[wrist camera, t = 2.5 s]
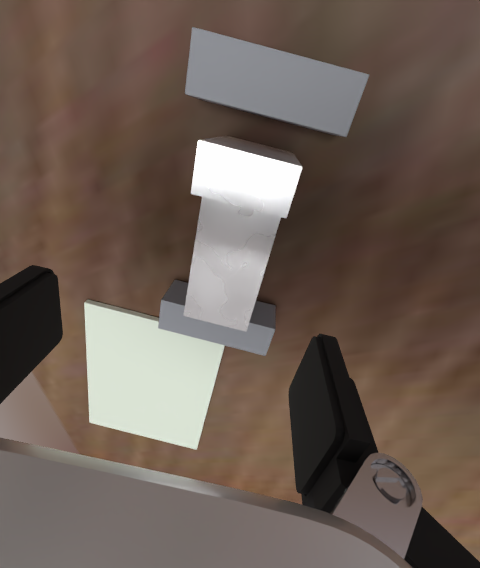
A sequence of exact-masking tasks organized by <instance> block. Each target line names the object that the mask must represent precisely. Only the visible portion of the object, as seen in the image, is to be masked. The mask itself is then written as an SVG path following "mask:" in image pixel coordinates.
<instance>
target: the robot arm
mask: <svg viewBox="0 0 480 568" xmlns="http://www.w3.org/2000/svg"><path fill="white" fill-rule="evenodd" d="M62 335H63V330H62V320H61V309H60V298H59V287H58V278H57V276H56V275H55V274H54V272H53V271H52V270H51V269H48V268H44V267H40V266H35V265H32V266H29V267H28V268H26V269H24V270H23V271H21V272H19V273H17V274H16V275H14V276H12V277H11V278H9V279H7V280H6V281H4V282H2V283H0V404H1V403H2V402H3V400H4V399H5V398H6V397H7V396H8V395H9V394H10V393H11V392H12V391H13V390H14V389H15V388H16V387H17V386H18V385H19V384H20V383H21V382H22V381H23V380H24V378H25V377H27V376H28V374H29V373H30V372H31V371H32V370H33V369H34V368H35V367H36V366H37V365H38V364H39V363H40V362H41V361H42V360H43V359H44V358H45V357H46V356H47V355H48V354H49V353H50V352H51V351H52V350H53V348H54V347H55V346H56V345H57V344H58V343H59V342H60V340H61V338H62ZM289 407H290V419H291V431H292V444H293V456H294V469H295V481H296V490H297V492H298V493H301V494H302V504H303V505H301V504H298V503H294V502H290V501H285V500H281V499H277V498H273V497H269V496H265V495H261V494H256V493H252V492H248V491H244V490H240V489H235V488H231V487H226V486H222V485H217V484H212V483H208V482H203V481H199V480H194V479H190V478H185V477H181V476H176V475H172V474H167V473H163V472H158V471H154V470H149V469H144V468H140V467H135V466H131V465H126V464H121V463H117V462H112V461H107V460H103V459H98V458H94V457H89V456H84V455H80V454H75V453H70V452H65V451H61V450H56V449H51V448H47V447H42V446H37V445H33V444H28V443H23V442H18V441H13V440H9V439H4V438H0V568H480V562H479V561H478V560H477V559H476V558H475V557H474V556H473V555H472V554H471V553H470V552H469V551H467V550H466V549H465V548H464V547H463V546H462V545H461V544H460V543H459V542H458V541H457V540H456V539H455V538H454V537H453V536H452V535H451V534H450V533H449V532H448V531H447V530H446V529H445V528H444V527H442V526H441V525H440V524H439V523H438V522H437V521H436V520H435V519H434V518H433V517H432V516H431V515H430V514H429V513H428V512H427V511H426V510H425V509H424V508H423V507H422V500H423V499H422V494H421V490H420V488H419V486H418V484H417V481H416V480H415V478H414V477H413V476H412V474H411V473H410V471H409V470H408V469H407V468H406V467H405V466H404V465H403V464H402V463H400V462H399V461H397V460H396V459H395V458H393V457H391V456H389V455H386V454H383V453H378V450H377V447H376V444H375V441H374V438H373V435H372V432H371V429H370V426H369V424H368V421H367V418H366V415H365V412H364V409H363V406H362V403H361V400H360V397H359V394H358V391H357V389H356V386H355V383H354V381H353V380H352V379H351V378H349V375H348V372H347V369H346V366H345V363H344V360H343V357H342V354H341V350H340V347H339V344H338V341H337V339H336V338H335V337H332V336H328V335H324V334H319V335H318V336H317V337H315V336H314V337H313V338H312V339H311V341H310V344H309V346H308V348H307V350H306V352H305V355H304V357H303V359H302V361H301V363H300V365H299V368H298V370H297V372H296V374H295V376H294V379H293V381H292V383H291V385H290V388H289Z"/></svg>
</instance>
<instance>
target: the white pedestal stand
mask: <svg viewBox="0 0 480 568" xmlns="http://www.w3.org/2000/svg"><path fill="white" fill-rule="evenodd" d="M301 171H302V165H301V164H300V162H299V161H298V159H297V158H296V156H295V155H294V154H293V152H289V151H285V150H281V149H277V148H273V147H270V146H266V145H262V144H258V143H254V142H250V141H247V140H243V139H239V138H235V137H231V136H222V137H215V138H208V139H201V140H198V145H197V152H196V159H195V167H194V174H193V181H192V188H191V194H193V195H197V196H201V197H202V201H201V207H200V214H199V220H198V226H197V233H196V239H195V245H194V251H193V258H192V264H191V270H190V277H189V283H188V289H187V296H186V302H185V308H184V314H183V316H186V317H190V318H194V319H198V320H202V321H206V322H210V323H214V324H218V325H222V326H225V327H229V328H233V329H237V330H241V331H245V332H247V328H248V325H249V322H250V318H251V315H252V312H253V308H254V305H255V302H256V298H257V295H258V292H259V289H260V285H261V282H262V279H263V275H264V272H265V269H266V265H267V262H268V259H269V255H270V252H271V249H272V246H273V242H274V239H275V236H276V232H277V229H278V226H279V222H280V219H281V217H283V218H287V215H288V212H289V209H290V206H291V203H292V199H293V196H294V193H295V190H296V187H297V183H298V180H299V177H300V174H301Z"/></svg>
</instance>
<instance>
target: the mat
mask: <svg viewBox="0 0 480 568" xmlns="http://www.w3.org/2000/svg"><path fill="white" fill-rule="evenodd" d="M84 305H85V328H86V351H87V374H88V398H89V421H90V423H93V424H97V425H101V426H105V427H109V428H113V429H117V430H121V431H125V432H129V433H133V434H137V435H141V436H145V437H149V438H153V439H157V440H161V441H164V442H168V443H172V444H176V445H180V446H184V447H188V448H192V449H196V450H197V447H198V443H199V439H200V435H201V432H202V428H203V424H204V421H205V417H206V413H207V409H208V406H209V402H210V398H211V395H212V391H213V387H214V383H215V380H216V376H217V372H218V368H219V365H220V361H221V357H222V354H223V350H224V346H225V345H221V344H217V343H213V342H209V341H206V340H202V339H198V338H194V337H190V336H186V335H182V334H178V333H175V332H171V331H167V330H163V329H159V328H158V324H159V318H158V317H154V316H150V315H147V314H143V313H139V312H135V311H131V310H127V309H123V308H119V307H115V306H112V305H108V304H104V303H100V302H96V301H92V300H87V301H86V302H84Z"/></svg>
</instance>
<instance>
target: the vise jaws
mask: <svg viewBox="0 0 480 568" xmlns="http://www.w3.org/2000/svg"><path fill="white" fill-rule="evenodd" d="M368 77H369V74H365V73H361V72H358V71H354V70H350V69H347V68H343V67H339V66H335V65H332V64H328V63H324V62H321V61H317V60H313V59H309V58H306V57H302V56H298V55H295V54H291V53H287V52H284V51H280V50H276V49H272V48H269V47H265V46H261V45H258V44H254V43H250V42H246V41H243V40H239V39H235V38H232V37H228V36H224V35H220V34H217V33H213V32H209V31H206V30H202V29H198V28H195V27H192V35H191V44H190V53H189V62H188V70H187V79H186V88H185V94H187V95H189V96H192V97H195V98H197V99H200V100H204V101H208V102H211V103H215V104H219V105H222V106H226V107H230V108H234V109H237V110H241V111H245V112H249V113H252V114H256V115H260V116H264V117H267V118H271V119H275V120H279V121H282V122H286V123H290V124H294V125H297V126H301V127H305V128H309V129H312V130H316V131H320V132H324V133H327V134H331V135H335V136H343V137H347V134H348V131H349V129H350V126H351V123H352V120H353V118H354V115H355V112H356V110H357V107H358V104H359V101H360V99H361V96H362V93H363V91H364V88H365V85H366V83H367V80H368ZM187 289H188V283H186V282H182V281H178V280H174V282H173V283H172V285H171V286H170V288H169V289H168V291H167V292H166V294H165V295H164V297H163V298H162V300H161V307H160V316H159V324H158V328H159V329H163V330H167V331H171V332H175V333H178V334H182V335H186V336H190V337H194V338H198V339H202V340H206V341H209V342H213V343H217V344H221V345H225V346H229V347H233V348H237V349H241V350H244V351H248V352H252V353H256V354H260V355H264V356H266V353H267V350H268V348H269V345H270V342H271V340H272V337H273V334H274V331H275V307H276V306H275V305H271V304H267V303H263V302H259V301H256V302H255V305H254V308H253V312H252V315H251V318H250V322H249V325H248V328H247V332H245V331H241V330H237V329H233V328H229V327H225V326H222V325H218V324H214V323H210V322H206V321H202V320H198V319H194V318H190V317H186V316H183V314H184V308H185V302H186V296H187Z"/></svg>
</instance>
